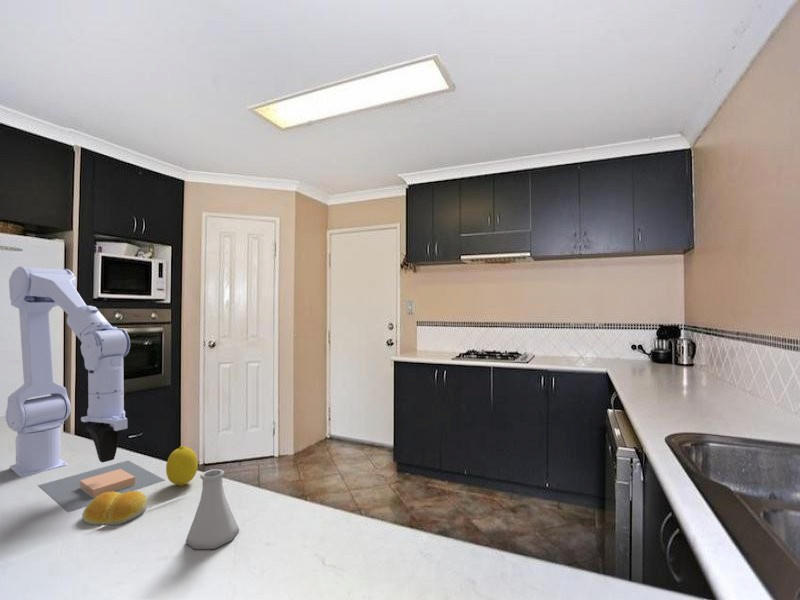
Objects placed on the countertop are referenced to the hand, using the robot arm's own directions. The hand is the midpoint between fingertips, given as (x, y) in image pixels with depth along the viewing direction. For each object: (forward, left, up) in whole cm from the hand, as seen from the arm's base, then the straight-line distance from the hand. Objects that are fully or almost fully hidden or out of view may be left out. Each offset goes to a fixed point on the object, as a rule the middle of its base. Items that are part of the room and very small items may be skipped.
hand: (106, 460), depth 83 cm
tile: (-3, 0, -4) cm, 5 cm away
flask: (+33, +3, -6) cm, 34 cm away
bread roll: (+13, -3, -6) cm, 15 cm away
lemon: (+11, +9, -6) cm, 16 cm away
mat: (-3, 0, -5) cm, 6 cm away
